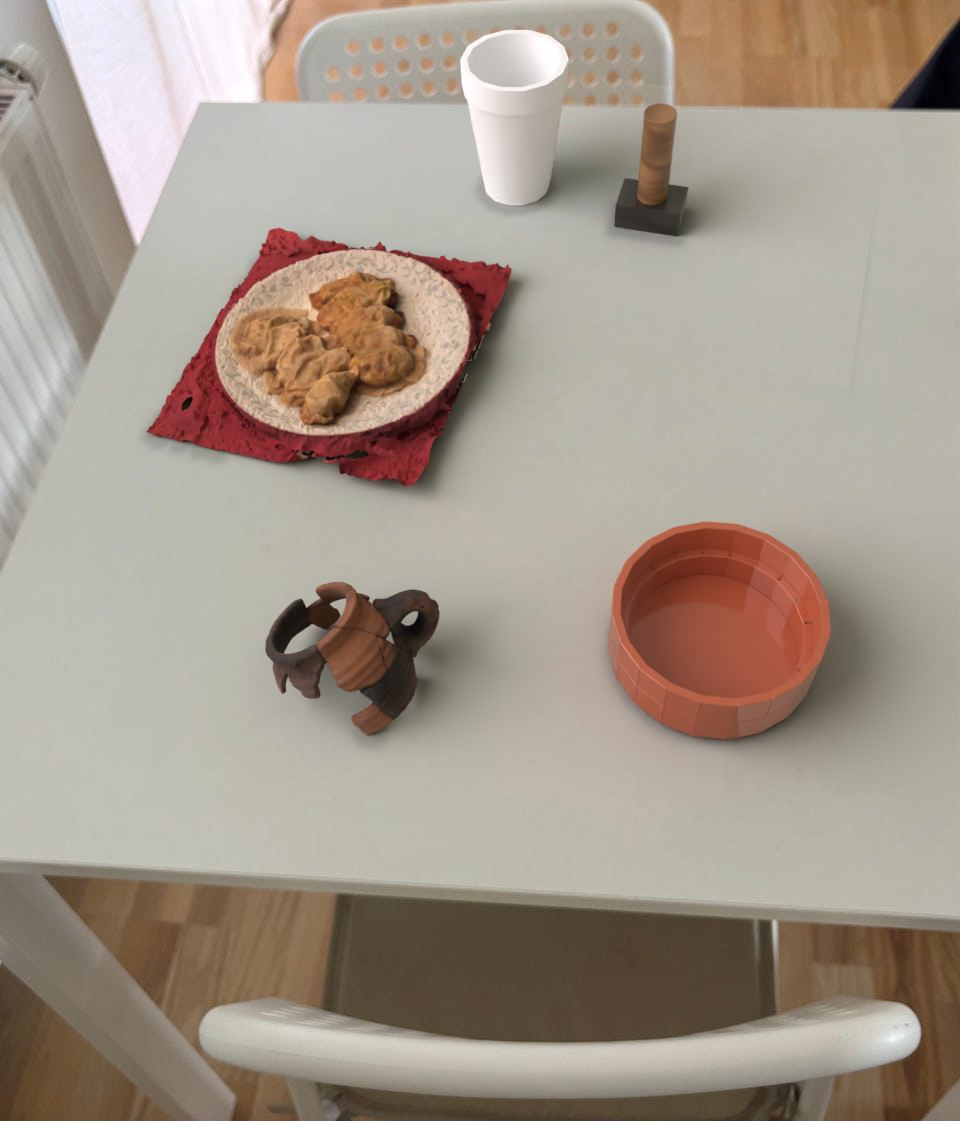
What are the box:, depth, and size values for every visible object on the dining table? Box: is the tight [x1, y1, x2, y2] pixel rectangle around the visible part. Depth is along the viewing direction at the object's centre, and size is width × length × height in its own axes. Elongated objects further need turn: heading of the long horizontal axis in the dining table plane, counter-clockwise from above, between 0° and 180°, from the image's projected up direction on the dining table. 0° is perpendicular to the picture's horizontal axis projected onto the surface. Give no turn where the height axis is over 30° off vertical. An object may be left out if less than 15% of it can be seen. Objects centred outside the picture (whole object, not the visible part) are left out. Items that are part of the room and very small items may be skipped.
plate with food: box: [145, 227, 512, 488], centre depth 94 cm, size 24×26×3 cm
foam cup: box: [459, 29, 570, 207], centre depth 102 cm, size 10×9×13 cm
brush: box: [613, 103, 689, 237], centre depth 99 cm, size 6×4×11 cm, turn 74°
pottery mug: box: [264, 581, 441, 736], centre depth 76 cm, size 12×10×8 cm
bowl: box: [607, 521, 832, 740], centre depth 75 cm, size 14×14×6 cm
